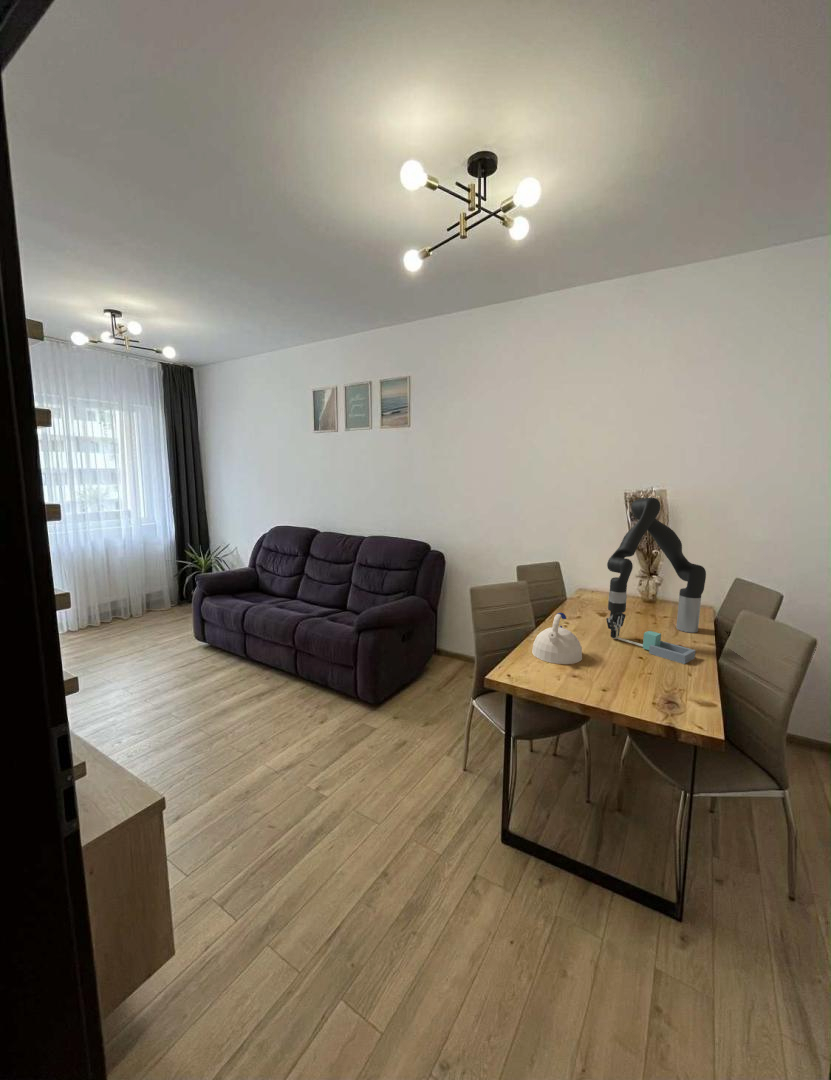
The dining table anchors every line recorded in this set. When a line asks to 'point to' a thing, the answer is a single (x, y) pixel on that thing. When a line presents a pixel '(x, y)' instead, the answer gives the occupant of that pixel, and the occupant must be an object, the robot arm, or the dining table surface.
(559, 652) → the kettle
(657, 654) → the lane
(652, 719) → the dining table surface
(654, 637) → the tethered block
